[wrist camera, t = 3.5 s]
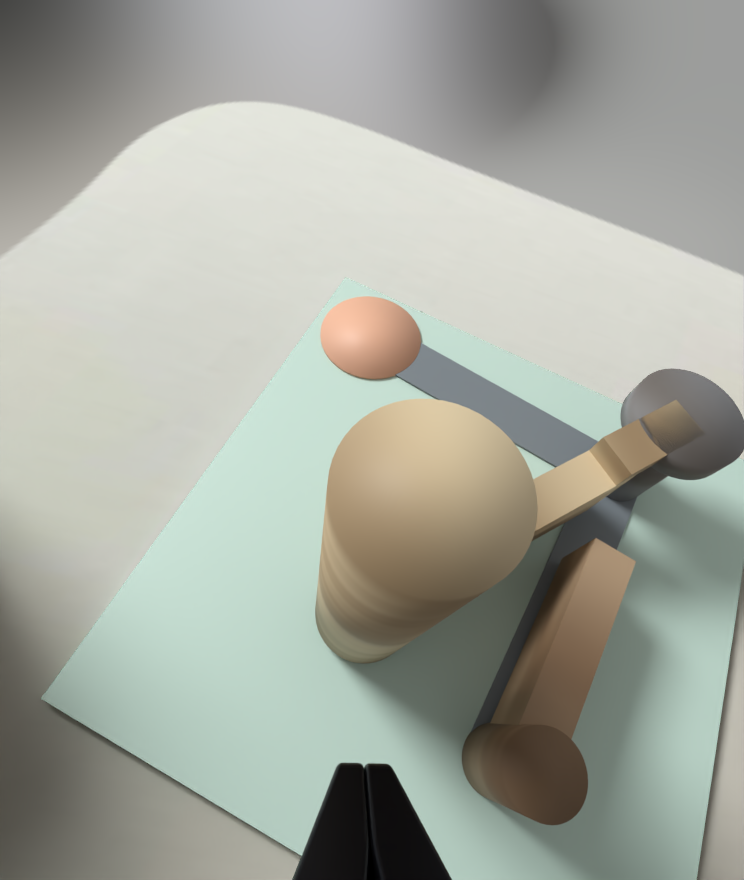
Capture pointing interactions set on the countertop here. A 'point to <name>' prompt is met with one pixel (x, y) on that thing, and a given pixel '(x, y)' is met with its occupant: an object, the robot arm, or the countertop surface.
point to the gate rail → (480, 502)
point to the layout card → (435, 651)
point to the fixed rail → (554, 685)
